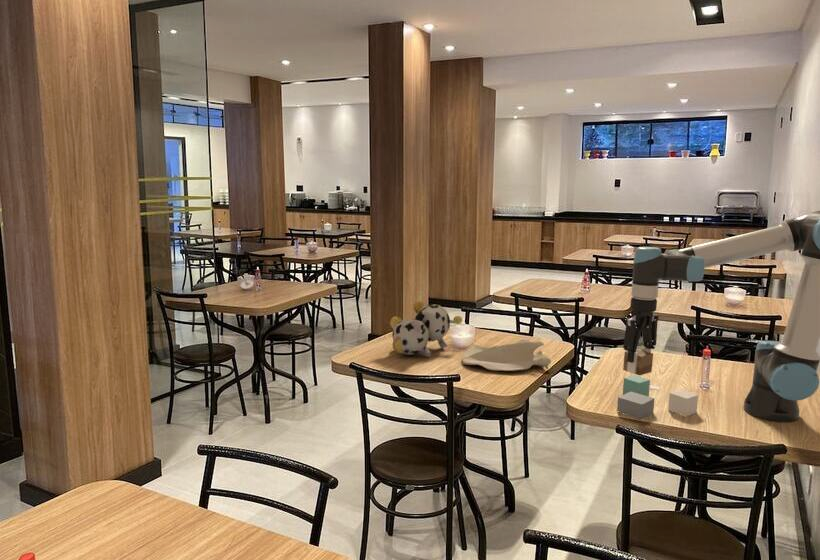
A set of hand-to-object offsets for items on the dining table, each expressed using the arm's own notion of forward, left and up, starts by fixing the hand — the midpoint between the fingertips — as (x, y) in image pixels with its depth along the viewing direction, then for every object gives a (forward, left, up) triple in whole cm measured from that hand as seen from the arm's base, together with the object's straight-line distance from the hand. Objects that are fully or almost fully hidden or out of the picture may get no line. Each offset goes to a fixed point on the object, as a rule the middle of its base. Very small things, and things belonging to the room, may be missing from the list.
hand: (638, 370), depth 189 cm
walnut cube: (0, 0, 0) cm, 0 cm away
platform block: (0, 0, -14) cm, 14 cm away
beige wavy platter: (+59, +2, -14) cm, 60 cm away
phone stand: (+14, -23, -15) cm, 31 cm away
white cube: (-8, -13, -14) cm, 21 cm away
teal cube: (+9, -13, -14) cm, 21 cm away
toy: (+91, +18, -14) cm, 94 cm away
